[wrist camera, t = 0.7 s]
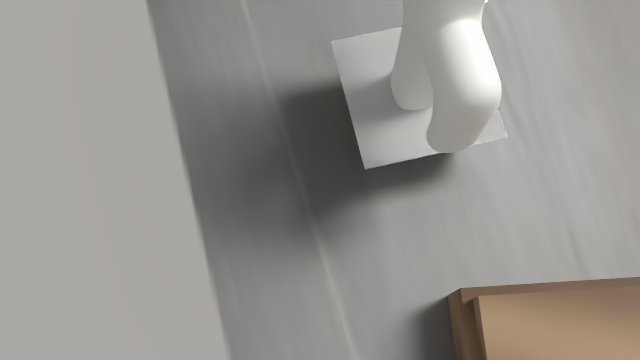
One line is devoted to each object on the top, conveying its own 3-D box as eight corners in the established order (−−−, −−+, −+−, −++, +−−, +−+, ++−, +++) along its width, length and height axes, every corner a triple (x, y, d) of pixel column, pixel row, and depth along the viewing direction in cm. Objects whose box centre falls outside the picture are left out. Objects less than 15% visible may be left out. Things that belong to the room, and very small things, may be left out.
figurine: (365, 210, 31) (398, 77, 16) (326, 58, 34) (324, -167, 19) (494, 181, 31) (635, 26, 17) (444, 33, 34) (529, -206, 20)
